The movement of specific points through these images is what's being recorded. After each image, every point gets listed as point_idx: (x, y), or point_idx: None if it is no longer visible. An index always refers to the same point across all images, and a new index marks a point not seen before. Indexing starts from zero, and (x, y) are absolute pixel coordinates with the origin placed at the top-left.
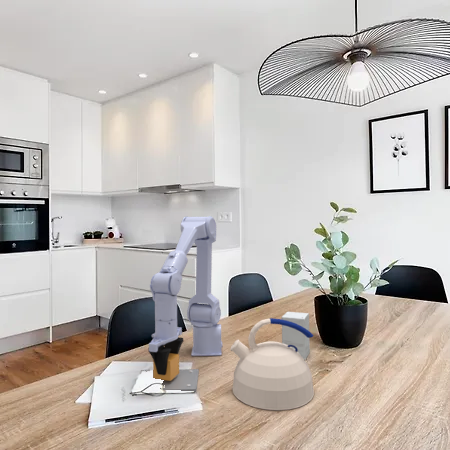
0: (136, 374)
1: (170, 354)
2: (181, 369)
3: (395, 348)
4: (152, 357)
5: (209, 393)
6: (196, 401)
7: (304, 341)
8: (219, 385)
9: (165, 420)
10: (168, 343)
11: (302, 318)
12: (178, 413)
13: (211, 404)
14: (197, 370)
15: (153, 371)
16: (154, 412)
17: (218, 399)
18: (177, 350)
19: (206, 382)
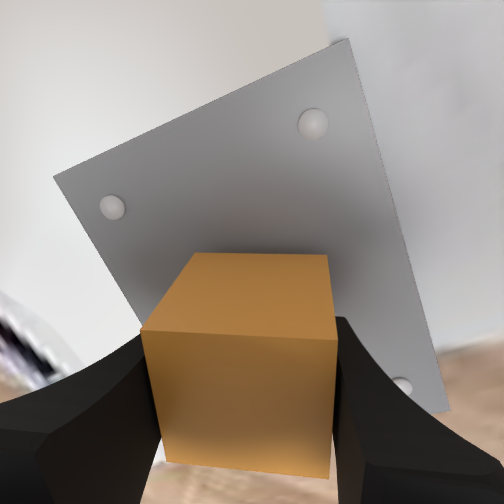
0: (323, 3)
1: (301, 424)
2: (426, 326)
3: None
4: (58, 385)
5: (239, 471)
6: (163, 447)
7: None
8: (319, 490)
9: (9, 397)
10: (354, 497)
11: None
12: None
13: (168, 488)
14: (426, 410)
15: (180, 275)
16: (21, 347)
17: (209, 500)
18: (338, 500)
19: (332, 446)
